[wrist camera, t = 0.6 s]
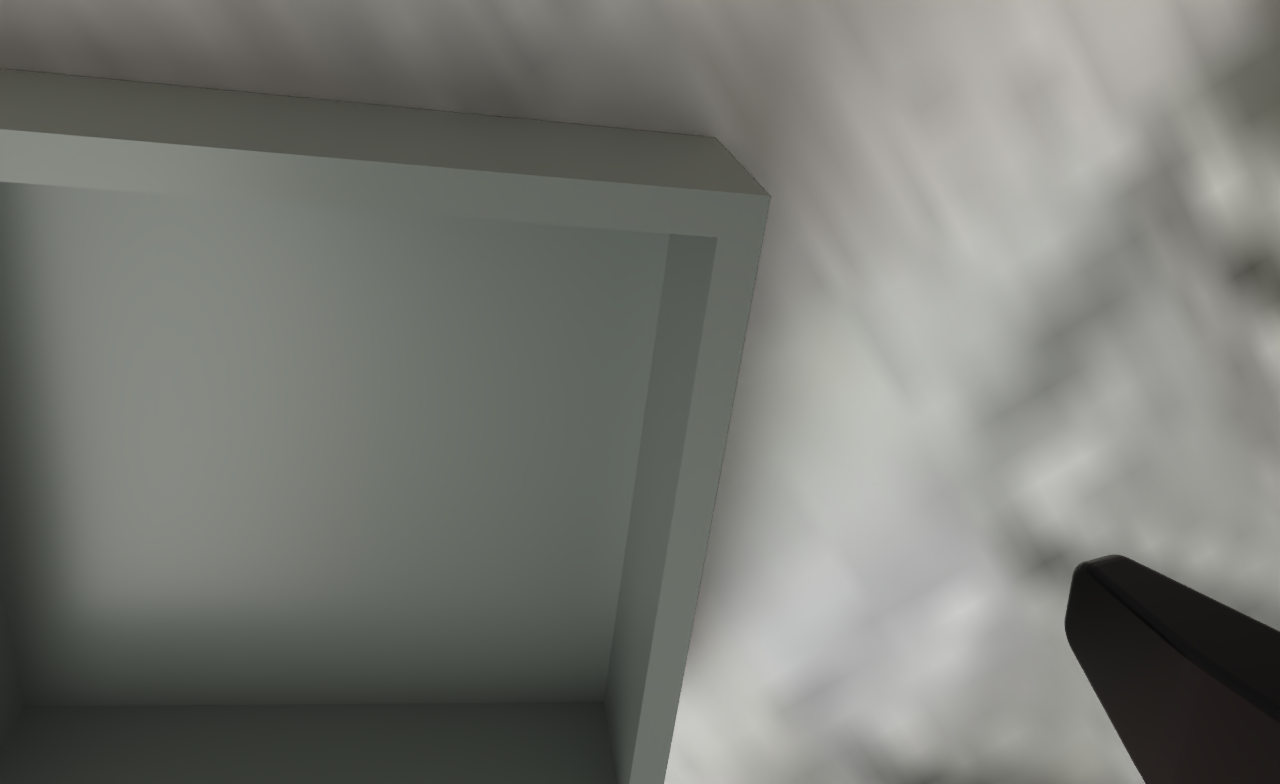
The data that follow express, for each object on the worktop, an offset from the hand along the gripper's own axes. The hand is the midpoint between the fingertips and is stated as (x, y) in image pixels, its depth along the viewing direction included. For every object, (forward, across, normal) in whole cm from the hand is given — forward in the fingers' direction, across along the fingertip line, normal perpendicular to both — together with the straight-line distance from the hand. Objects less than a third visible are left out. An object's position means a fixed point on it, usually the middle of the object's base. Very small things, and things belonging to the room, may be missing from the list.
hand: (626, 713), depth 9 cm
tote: (+14, +4, +6) cm, 16 cm away
